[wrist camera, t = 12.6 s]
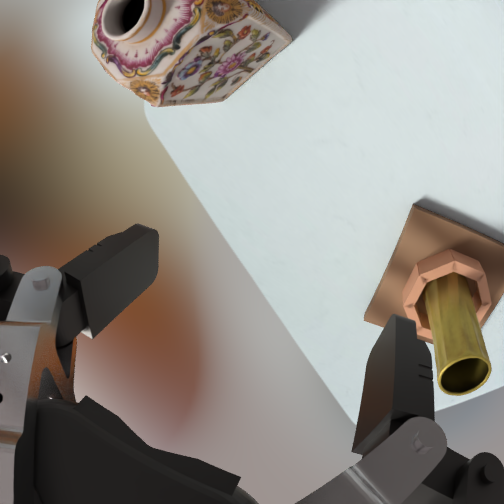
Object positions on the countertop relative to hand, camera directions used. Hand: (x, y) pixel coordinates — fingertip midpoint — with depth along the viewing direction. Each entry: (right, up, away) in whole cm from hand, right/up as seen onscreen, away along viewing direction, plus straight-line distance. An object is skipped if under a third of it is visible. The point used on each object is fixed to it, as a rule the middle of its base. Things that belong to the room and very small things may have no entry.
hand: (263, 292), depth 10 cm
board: (+23, -3, +25) cm, 34 cm away
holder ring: (+23, -3, +24) cm, 33 cm away
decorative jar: (-3, +26, +21) cm, 34 cm away
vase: (+23, -3, +24) cm, 33 cm away
